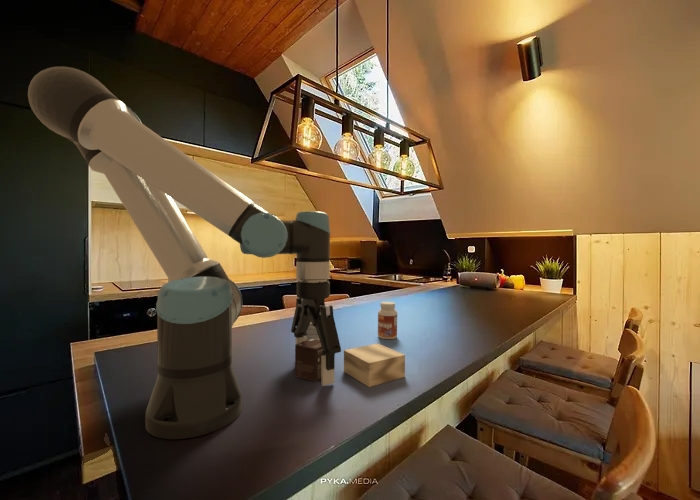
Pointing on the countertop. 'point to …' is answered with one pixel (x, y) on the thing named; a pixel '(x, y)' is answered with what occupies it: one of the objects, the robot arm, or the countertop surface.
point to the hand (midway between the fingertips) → (313, 373)
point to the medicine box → (311, 332)
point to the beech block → (374, 364)
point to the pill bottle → (387, 321)
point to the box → (308, 360)
